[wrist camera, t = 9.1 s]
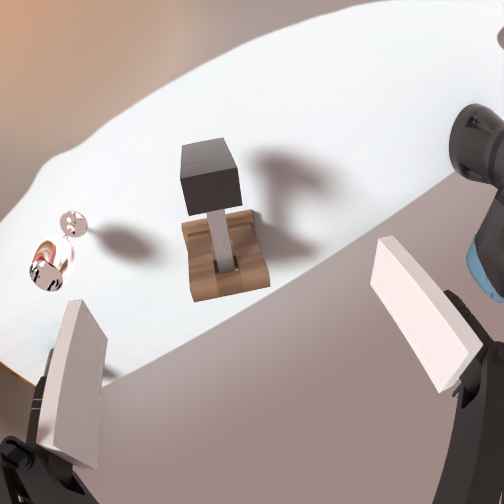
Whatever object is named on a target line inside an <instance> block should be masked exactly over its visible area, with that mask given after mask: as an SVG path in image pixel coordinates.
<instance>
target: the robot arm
mask: <svg viewBox="0 0 504 504" xmlns="http://www.w3.org/2000/svg"><path fill="white" fill-rule="evenodd" d="M449 153H450V159H451V163H452V165H453V167H454V169H455V170H456V172H457V173H459V174H460V175H462V176H463V177H465V178H466V179H469V180H472V181H477V182H482V183H487V184H491V185H493V186H495V187H496V188H498V191H497V193H496V196H495V198H494V200H493V202H492V204H491V207H490V208H489V211H488V213H487V215H486V217H485V219H484V221H483V223H482V224H481V226H480V228H479V230H478V232H477V234H476V235H475V236H474V238H473V243H472V244H471V246H470V248H469V250H468V253H467V257H466V259H467V266H468V269H469V271H470V273H471V275H472V277H473V278H474V280H475V281H476V282H477V284H478V285H479V287H480V288H481V289H482V290H483V291H484V292H485V293H486V294H489V296H490V297H491V298H492V299H493V300H494V301H496V302H498V303H504V121H503V120H502V119H501V118H500V117H499V116H498V115H497V114H495V113H494V112H493V111H492V110H491V109H489V108H487V107H485V106H482V105H479V104H471V105H468V106H467V107H465V108H464V109H463V110H462V111H461V112H460V113H459V115H458V116H457V118H456V120H455V122H454V125H453V127H452V131H451V135H450V142H449ZM370 285H371V286H372V288H373V289H374V291H375V292H376V293H377V295H378V296H379V298H380V299H381V301H382V302H383V304H384V305H385V307H386V308H387V310H388V311H389V313H390V314H391V316H392V317H393V319H394V320H395V322H396V323H397V325H398V327H399V328H400V329H401V331H402V333H403V334H404V336H405V337H406V339H407V341H408V342H409V344H410V345H411V347H412V349H413V350H414V352H415V353H416V355H417V357H418V358H419V360H420V362H421V363H422V365H423V367H424V368H425V370H426V372H427V373H428V375H429V377H430V378H431V380H432V382H433V384H434V385H435V387H436V389H437V391H438V392H439V393H440V392H442V391H444V390H446V389H447V388H449V387H451V386H452V385H454V383H455V382H456V381H457V380H458V378H460V379H461V381H462V383H461V384H460V385H459V386H458V387H457V389H456V390H455V391H454V392H453V395H452V397H455V395H456V394H457V393H458V392H459V395H458V397H457V398H458V402H457V408H456V415H455V420H454V425H453V430H452V435H451V440H450V445H449V449H448V453H447V457H446V461H445V465H444V468H443V472H442V475H441V479H440V482H439V485H438V488H437V491H436V494H435V497H434V500H433V503H432V504H499V500H500V496H501V492H502V500H501V504H504V343H503V342H499V341H495V342H494V341H493V340H492V339H491V338H490V336H489V335H488V334H487V332H486V331H485V330H484V328H483V327H482V326H481V324H480V323H479V322H478V320H477V319H476V318H475V317H474V315H472V314H471V312H470V310H469V309H468V308H467V307H465V306H466V305H465V304H464V303H463V302H462V300H461V299H460V298H459V297H458V296H457V295H455V294H454V293H452V292H451V291H449V290H446V291H444V292H442V291H441V289H440V288H439V287H438V286H437V285H436V283H435V282H434V281H433V280H432V279H431V278H430V276H429V275H428V274H427V273H426V272H425V271H424V269H423V268H422V267H421V266H420V265H419V264H418V263H417V262H416V261H415V259H414V258H413V257H412V256H411V255H410V254H409V253H408V252H407V251H406V250H405V249H404V247H403V246H402V245H401V244H400V243H399V242H398V241H397V240H396V239H395V238H394V237H393V236H387V237H383V238H379V239H378V244H377V251H376V256H375V262H374V267H373V273H372V278H371V283H370ZM107 341H108V339H107V337H106V336H105V334H104V333H103V331H102V330H101V328H100V327H99V325H98V324H97V322H96V321H95V319H94V317H93V316H92V314H91V313H90V311H89V309H88V308H87V306H86V305H85V303H84V301H83V300H82V299H79V300H74V301H68V304H67V307H66V310H65V313H64V316H63V320H62V323H61V326H60V329H59V333H58V336H57V340H56V343H55V347H54V351H53V355H52V359H51V363H50V367H49V371H48V376H44V377H41V378H40V380H39V382H38V384H37V386H36V388H35V392H34V398H33V399H34V401H33V402H32V410H31V413H30V419H29V425H28V432H27V439H26V444H25V443H24V442H22V441H21V440H19V439H17V438H16V437H14V436H8V437H6V438H4V440H3V441H2V442H1V444H0V504H99V503H98V502H97V501H96V499H95V498H94V497H93V496H92V494H91V493H90V492H89V490H88V489H87V488H86V486H85V485H84V484H83V482H82V481H81V479H80V478H79V476H78V475H77V474H76V473H75V472H74V471H73V470H72V466H73V465H75V466H77V467H79V468H81V469H92V470H97V445H98V424H99V409H100V397H101V387H102V378H103V369H104V362H105V354H106V347H107ZM17 495H18V496H20V497H21V502H19V499H18V496H17Z"/></svg>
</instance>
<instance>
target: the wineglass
mask: <svg viewBox="0 0 504 504" xmlns="http://www.w3.org/2000/svg"><path fill="white" fill-rule="evenodd" d="M60 226H61V229H62V230H63V232H64V233H65V236H64V237H63V236H60V235H49V236H47V237H45V238H44V239H42V240H41V241H40V242H39V244H38V245H37V247H36V249H35V251H34V253H33V256H32V260H31V264H30V276H31V279H32V280H33V282H34V283H35V284H36V285H37V286H38V287H40V288H41V289H43V290H45V291H52V292H53V291H57V290H59V289H60V288H61V287H62V286H63V285H64V283H65V282H66V281H67V280H68V278H69V277H70V275H71V273H72V271H73V269H74V266H75V261H76V253H75V250H74V247H73V245H72V244H71V243H70V241H69V240H68V236H70V237H80V236H82V235H83V234H84V233H85V231H86V228H87V225H86V221H85V219H84V217H83V216H82V215H81V214H80V213H78V212H76V211H67V212H65V213H63V215H62V216H61V218H60Z"/></svg>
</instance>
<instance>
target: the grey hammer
mask: <svg viewBox="0 0 504 504" xmlns="http://www.w3.org/2000/svg"><path fill="white" fill-rule="evenodd" d="M180 181H181V185H182V189H183V194H184V198H185V202H186V206H187V211H188V215H189V216H191V215H196V214H201V213H207V218H208V222H209V227H210V232H211V236H212V241H213V246H214V250H215V255H216V259H217V264H218V268H219V273H220V274H222V273H227V272H232V271H235V267H234V261H233V256H232V250H231V245H230V239H229V233H228V228H227V222H226V216H225V211H224V209H226V208H231V207H236V206H242V198H241V191H240V184H239V176H238V169H237V166H236V164H235V162H234V159H233V157H232V155H231V153H230V151H229V149H228V147H227V145H226V142H225V140H224V138H218V139H213V140H207V141H202V142H197V143H192V144H187V145H182V155H181V171H180Z"/></svg>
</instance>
